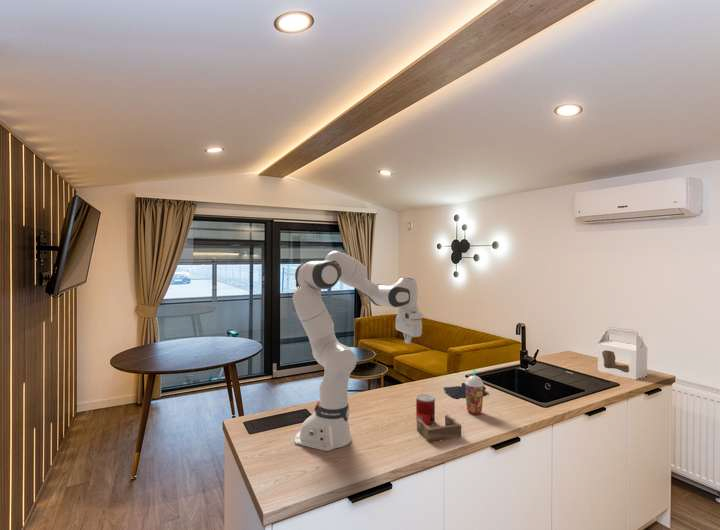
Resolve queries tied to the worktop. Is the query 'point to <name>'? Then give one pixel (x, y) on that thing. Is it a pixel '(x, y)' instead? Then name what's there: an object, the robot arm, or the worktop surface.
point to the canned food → (425, 409)
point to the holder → (440, 430)
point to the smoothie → (474, 394)
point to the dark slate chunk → (459, 391)
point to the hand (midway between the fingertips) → (407, 343)
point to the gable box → (636, 353)
